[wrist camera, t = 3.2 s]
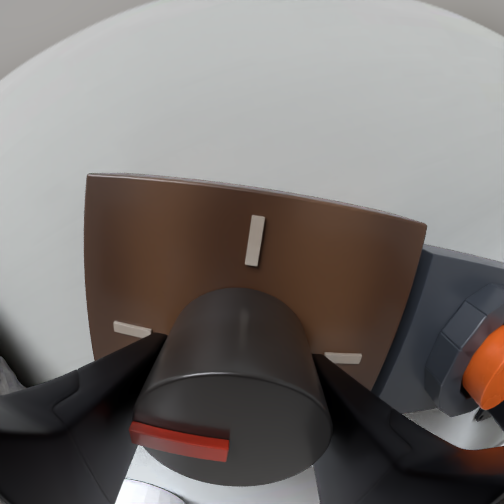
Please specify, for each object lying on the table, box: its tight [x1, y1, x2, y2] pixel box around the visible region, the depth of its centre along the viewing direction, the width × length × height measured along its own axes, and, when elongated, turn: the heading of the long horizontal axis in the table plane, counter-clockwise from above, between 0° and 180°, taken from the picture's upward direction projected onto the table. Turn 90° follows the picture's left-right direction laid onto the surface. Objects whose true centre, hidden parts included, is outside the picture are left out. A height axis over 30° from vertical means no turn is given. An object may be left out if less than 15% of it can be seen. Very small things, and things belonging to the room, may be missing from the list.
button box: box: [371, 244, 504, 417], centre depth 10 cm, size 10×8×4 cm
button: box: [462, 325, 504, 410], centre depth 8 cm, size 4×4×2 cm
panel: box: [84, 173, 427, 391], centre depth 10 cm, size 11×10×3 cm
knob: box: [129, 288, 333, 486], centre depth 7 cm, size 4×4×4 cm
